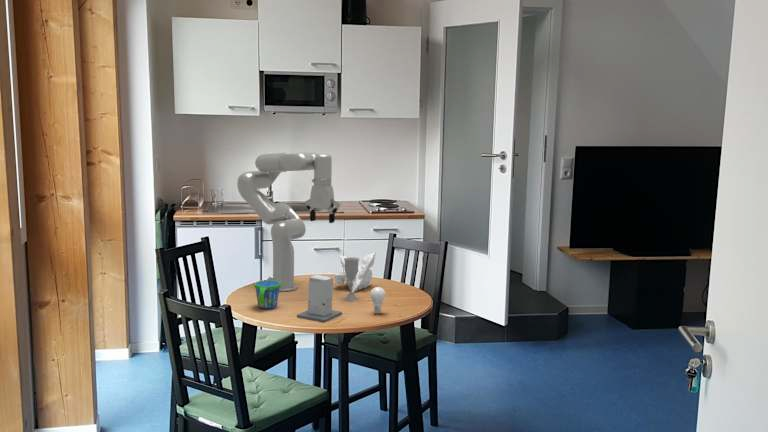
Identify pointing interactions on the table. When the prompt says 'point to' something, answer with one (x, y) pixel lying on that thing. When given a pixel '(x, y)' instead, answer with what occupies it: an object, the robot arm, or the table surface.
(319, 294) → the skincare box
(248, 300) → the table surface
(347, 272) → the chalice
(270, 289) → the snack cup
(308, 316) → the charcoal mat
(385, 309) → the table surface
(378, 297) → the lightbulb
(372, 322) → the table surface
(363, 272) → the white bumpy sculpture
